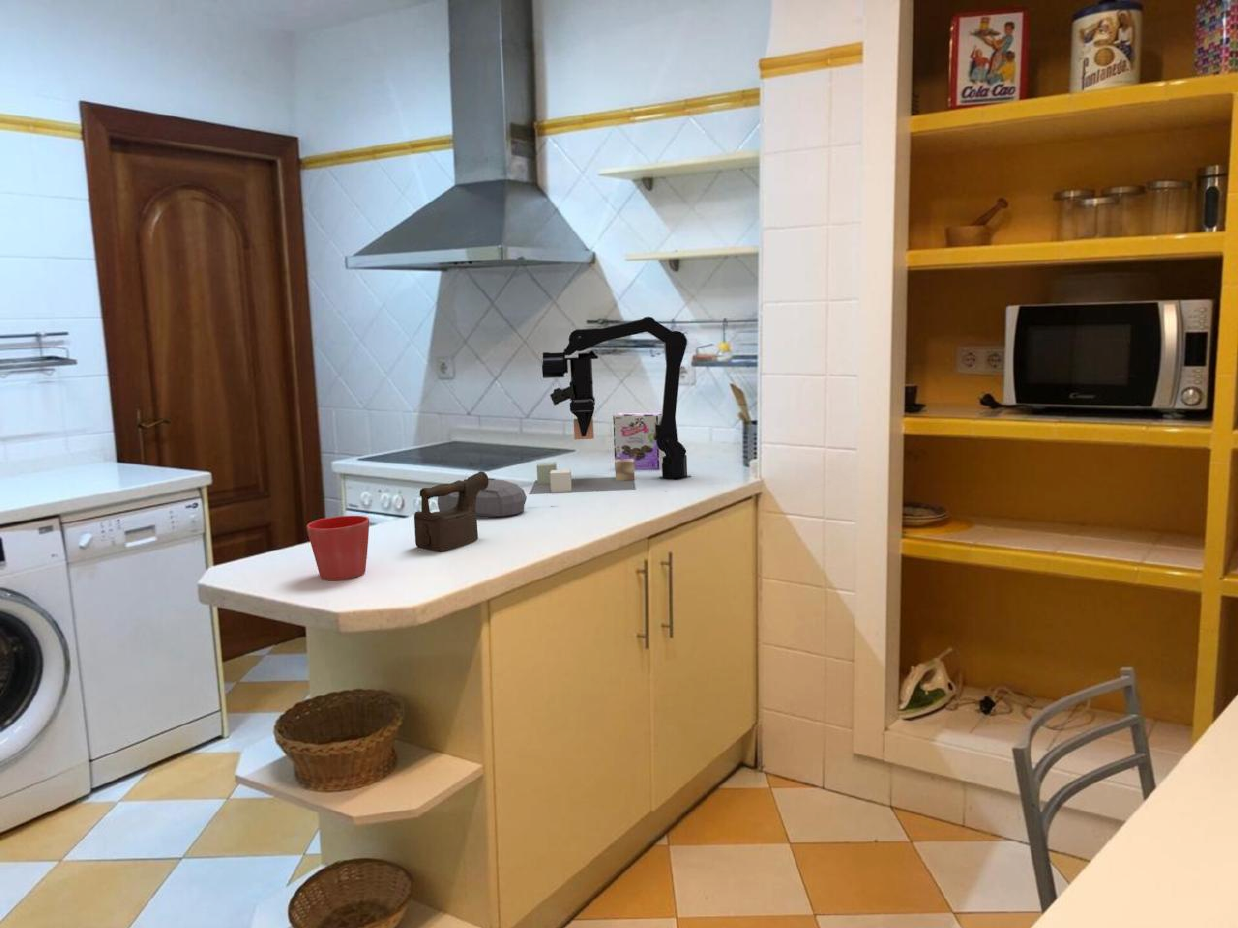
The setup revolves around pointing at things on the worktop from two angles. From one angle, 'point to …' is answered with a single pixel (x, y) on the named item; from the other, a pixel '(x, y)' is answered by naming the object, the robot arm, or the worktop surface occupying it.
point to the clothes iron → (449, 515)
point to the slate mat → (588, 485)
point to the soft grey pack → (491, 499)
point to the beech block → (624, 470)
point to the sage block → (545, 472)
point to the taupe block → (560, 480)
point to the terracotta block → (578, 433)
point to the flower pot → (340, 546)
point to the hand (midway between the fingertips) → (584, 434)
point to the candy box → (637, 439)
